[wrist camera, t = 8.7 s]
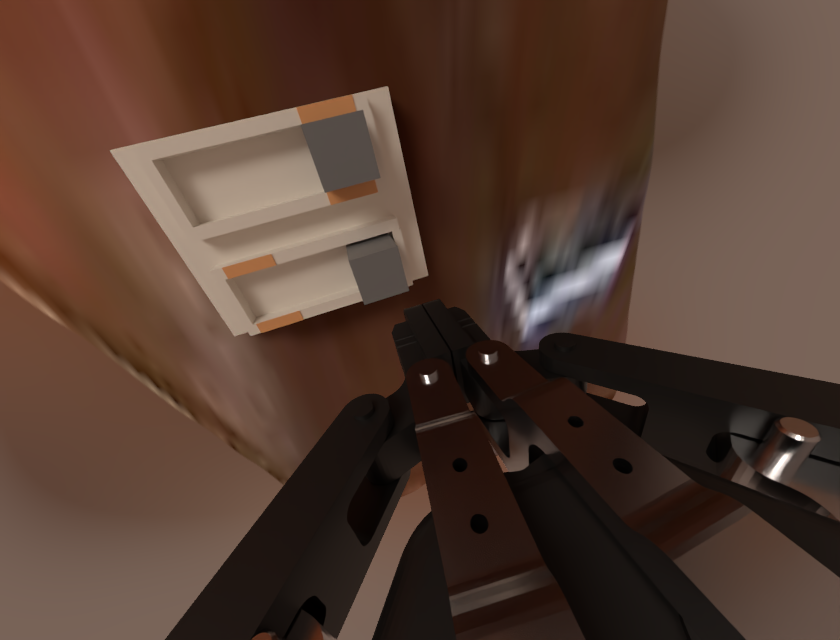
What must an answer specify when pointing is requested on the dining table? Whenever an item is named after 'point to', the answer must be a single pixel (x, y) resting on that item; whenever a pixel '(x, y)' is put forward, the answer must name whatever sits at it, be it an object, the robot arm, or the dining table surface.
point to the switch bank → (275, 211)
